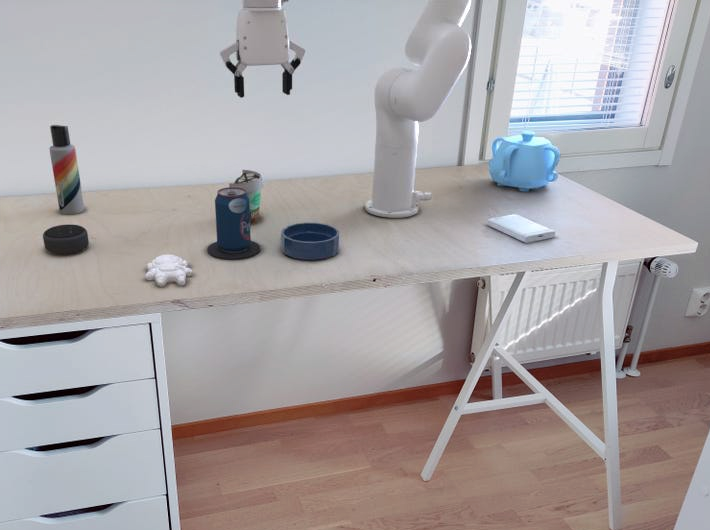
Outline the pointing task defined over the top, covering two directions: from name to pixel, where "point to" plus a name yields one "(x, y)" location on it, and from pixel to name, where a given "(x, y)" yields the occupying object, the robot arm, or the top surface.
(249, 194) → the food container
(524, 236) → the hard drive
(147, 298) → the top surface
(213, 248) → the coaster
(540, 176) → the decorative pot
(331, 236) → the bowl
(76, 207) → the lotion bottle
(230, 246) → the soda can
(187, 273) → the astronaut figurine
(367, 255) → the top surface
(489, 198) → the top surface
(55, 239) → the smart speaker
